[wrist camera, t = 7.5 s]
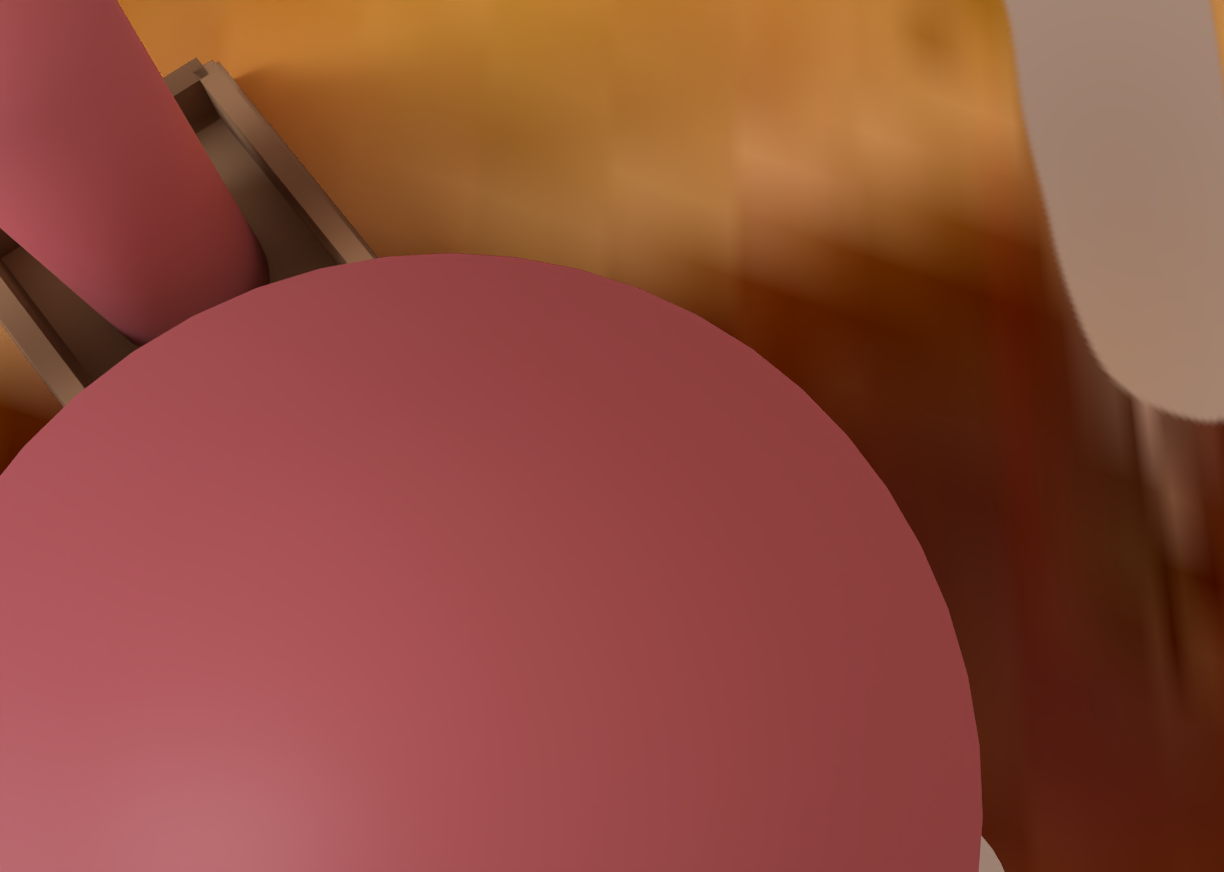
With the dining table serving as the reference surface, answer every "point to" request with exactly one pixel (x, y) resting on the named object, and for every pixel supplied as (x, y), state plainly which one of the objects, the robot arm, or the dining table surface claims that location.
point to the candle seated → (112, 172)
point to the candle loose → (468, 600)
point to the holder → (263, 190)
